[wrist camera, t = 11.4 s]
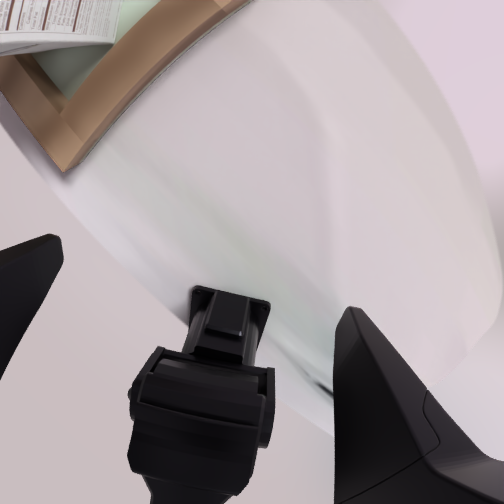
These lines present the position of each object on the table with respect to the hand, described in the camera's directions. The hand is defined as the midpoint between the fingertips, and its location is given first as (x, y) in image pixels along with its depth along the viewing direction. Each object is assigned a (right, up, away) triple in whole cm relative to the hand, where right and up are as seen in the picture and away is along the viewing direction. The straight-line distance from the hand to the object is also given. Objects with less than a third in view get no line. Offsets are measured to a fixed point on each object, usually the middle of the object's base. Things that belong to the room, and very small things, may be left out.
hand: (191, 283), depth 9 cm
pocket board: (-10, +18, +5) cm, 22 cm away
